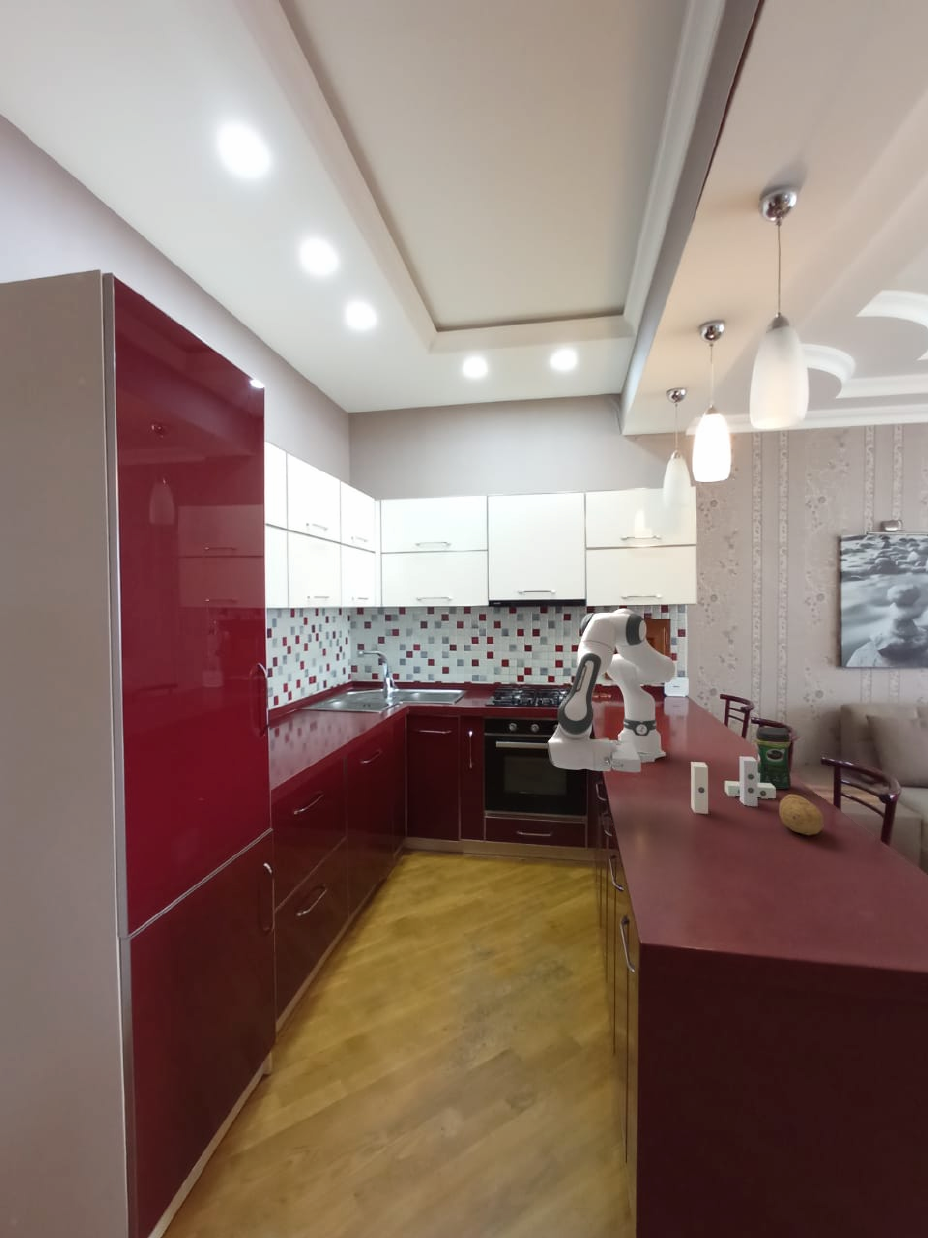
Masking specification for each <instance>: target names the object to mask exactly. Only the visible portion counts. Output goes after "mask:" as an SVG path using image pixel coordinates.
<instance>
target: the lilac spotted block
mask: <svg viewBox="0 0 928 1238" xmlns="http://www.w3.org/2000/svg"><path fill="white" fill-rule="evenodd" d="M757 774H758V759H757V760H756V758H755V757H753V756H739V782H740V797H739V801H740V802H741V804H742V803H743V804H744V805H747V806H748V807H758V798H757ZM743 804H742V805H743ZM744 805H743V806H744ZM747 806H746V807H747Z"/></svg>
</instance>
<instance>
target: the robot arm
mask: <svg viewBox="0 0 928 1238" xmlns="http://www.w3.org/2000/svg"><path fill="white" fill-rule="evenodd" d="M580 634H581V638H580V642H579V644H578V649H577V653H576V664H575V665H576V673H575V676H574V680H573V682H572V686H571V689H570V691H569V693H568V695H567V696H566V697H565V698H564V699H563V700H562V702H561V703H560V705H559V706H558V708H557V712H556V713H557V714H556V715H557V721H558V725H557V727H556V729H555V730H554V733H553V734H552V735H551V738H550V739H549V740H548V741H547V750H548V756H549V757H548V758H549V762H550V763H551V764H552V765H553V767H554V766H555V767H556V768H558V769H559V768H560V769H565V770H582V769H587V770H591V771H598V772H599V771H601V772H610V771H611V770H614V771H618V772H625V773H626V772H627V773H640V772H641V771H642V769H641V768H642V764H644V763H651V762H652V763H654V762H655V760H656V759H658V758H661V757H666V756H667V754H666V752H665V750H663V749H662V743H661V742H662V741H661V740H662V739H661V738H662V737H661V733H659V731H657V719H656V701H655V698H654V697H653V695H652V694H650V693H649V692H647V691H645V690H644V689H643V688H642V687H641V685H640V684H642V683H644V684H654V685H656V684H657V685H658V684H665V683H669V682H671V681H672V679H673V678H674V676H675V674H676V666H675V663H674V661H673V660H672V658H671V657H669V656H668V655H664V654H662V653H660V651H658V650H656V649H655V648H654V647H653V646H651V644H650V643H649V642H648V640H647V637H646V635H647V623H646V620H645V619H644V618H643V616H641V615H639V614H635V612H634V611H633V610H631V609H629V608H618V609H617V610H614V611H613V612H600V613H597V612H592V613H588V614H586V615H584V617H583V618H582V620H581V623H580ZM615 649H616V651H617V653H616V654H615ZM604 674H607V675H608V677H609V678H610V679H611V680H612V681H614V682H615V684H617V686H618V687H619V689H620V691H621V693H622V696H623V702H624V703H623V705H624V717H623V729H622V730H621V732H620V733H619V734H618V735H617V740H616V739H610V738H608V737H601V738H598V739H595V738H590V735H591V733H592V728H593V727H592V726H593V720H594V710H593V705H592V697H593V694H594V691H595V687H596V684H597V681H598V679H599V676H602V675H604Z"/></svg>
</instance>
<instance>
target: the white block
mask: <svg viewBox="0 0 928 1238" xmlns="http://www.w3.org/2000/svg"><path fill="white" fill-rule="evenodd" d="M724 792H725V793H726V795H727V797H735V796H740V781H736V780H735V781H734V780H733V781H731V780H724ZM776 792H777V789H776V788H775V787H774V786H773V785H772V784H771V783H757V797H761V798H760V799H768V798H773V799H772V800H775V799H774V798H777V793H776Z"/></svg>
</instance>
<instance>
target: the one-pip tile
mask: <svg viewBox="0 0 928 1238" xmlns="http://www.w3.org/2000/svg"><path fill="white" fill-rule="evenodd" d="M690 767H691V768H690V771H691V773H690V777H691V779H690V789H691V790H690V792H691V794H690V797H691V798H690V801H691V803H690V807H691V809H692V811H693V813H694V814H705V815H706V814H708V815H709V767H708V765H707V764H706V763H705V762H704V761H703V762H697V761H691V762H690Z"/></svg>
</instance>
